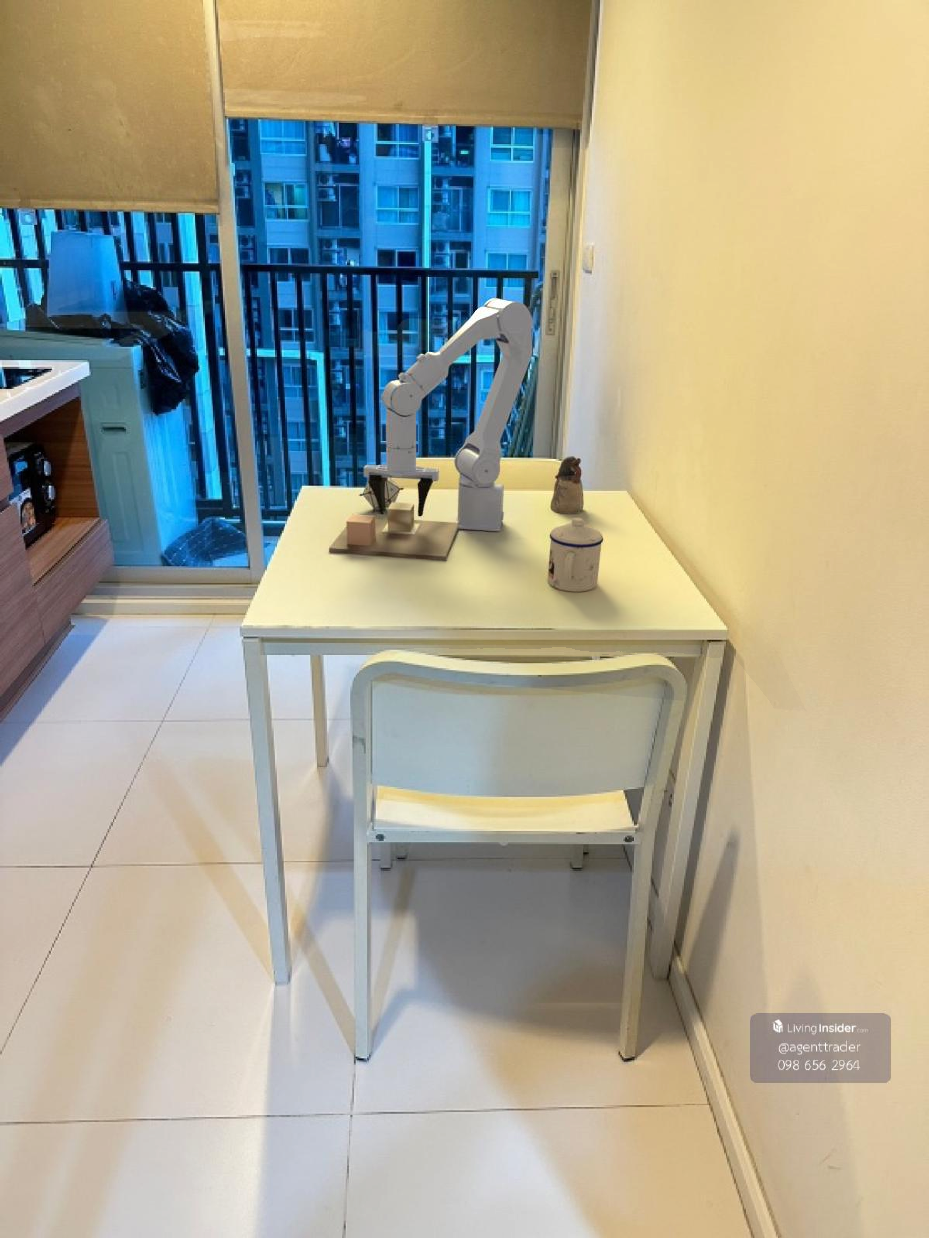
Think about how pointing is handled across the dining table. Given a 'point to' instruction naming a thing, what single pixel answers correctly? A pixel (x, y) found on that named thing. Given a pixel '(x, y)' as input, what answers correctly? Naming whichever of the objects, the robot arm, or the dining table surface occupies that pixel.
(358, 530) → the terracotta block
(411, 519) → the birch block
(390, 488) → the game die
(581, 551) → the teacup with lid
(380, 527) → the brown wooden board
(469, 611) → the dining table surface
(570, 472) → the figurine
